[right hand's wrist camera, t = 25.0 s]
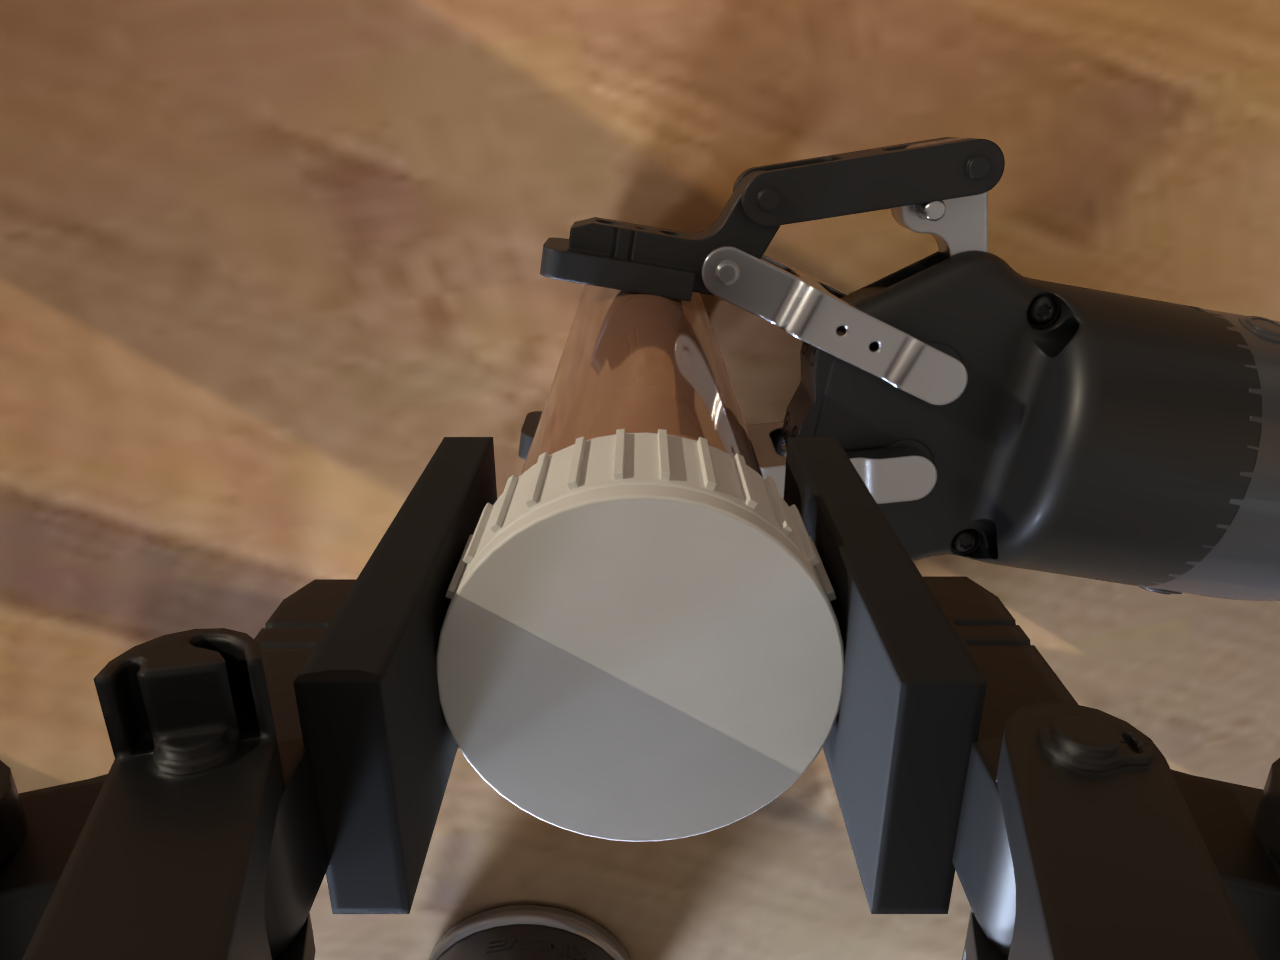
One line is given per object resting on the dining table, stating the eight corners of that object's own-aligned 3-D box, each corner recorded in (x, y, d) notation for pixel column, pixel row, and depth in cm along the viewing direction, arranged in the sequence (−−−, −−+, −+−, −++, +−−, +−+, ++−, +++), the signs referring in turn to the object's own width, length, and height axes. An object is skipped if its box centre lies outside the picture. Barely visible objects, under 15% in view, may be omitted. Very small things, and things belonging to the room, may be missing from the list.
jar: (614, 228, 28) (565, 422, 10) (726, 289, 29) (871, 574, 11) (557, 342, 29) (425, 693, 11) (666, 397, 30) (705, 811, 12)
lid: (388, 586, 12) (340, 676, 10) (650, 346, 11) (652, 396, 9) (632, 793, 13) (631, 908, 11) (890, 600, 12) (938, 691, 10)
